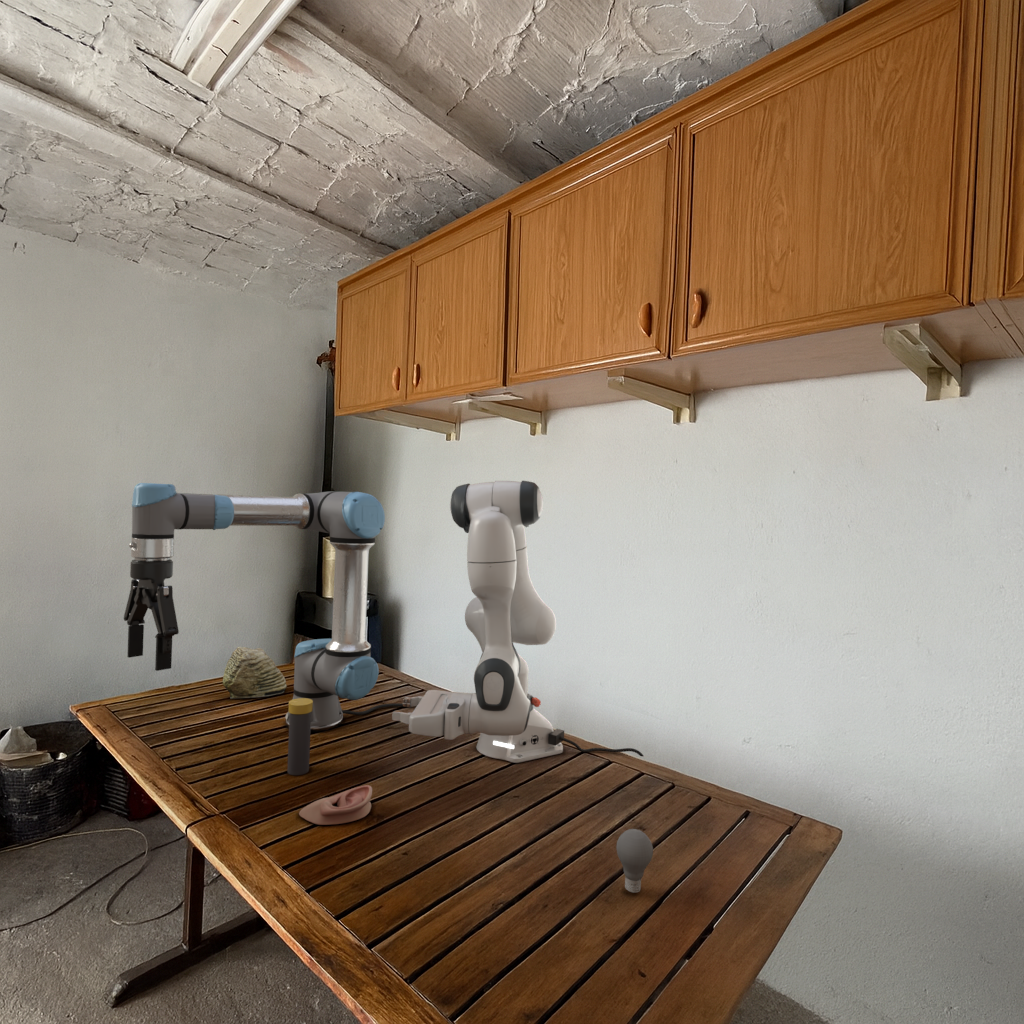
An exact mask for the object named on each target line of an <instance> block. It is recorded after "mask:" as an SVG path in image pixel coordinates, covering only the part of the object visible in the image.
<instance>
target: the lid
mask: <svg viewBox="0 0 1024 1024" xmlns="http://www.w3.org/2000/svg"><path fill="white" fill-rule="evenodd" d="M292 699H293V698H292ZM292 699H290V700H288V711H289V713H291V714H306V713H309V712H311V711H312V710H313V700H311V699H308V698H298V699H293V700H292ZM288 711H287V712H288Z"/></svg>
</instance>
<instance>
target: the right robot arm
mask: <svg viewBox="0 0 1024 1024" xmlns="http://www.w3.org/2000/svg"><path fill="white" fill-rule="evenodd" d="M543 509H544V498H543V494H542V492H541V489H540V487H539V486H538V485H537V483H536V482H533V481H529V480H521V481H516V480H495V481H485V482H478V483H465V484H461V485H458V486H456V487H455V488H454V489H453V491H452V493H451V496H450V501H449V511H450V514H451V516H452V520H453V522H454V523H455V524H456V525H457V526H458V527H459V528H460V529H463V531H464V532H465V533H466V534H468V536H467V545H466V546H467V548H466V549H467V550H466V551H467V552H466V558H467V559H466V562H467V563H466V564H467V576H468V581H469V582H468V583H469V586H470V590H471V592H472V594H473V595H474V596H475V597H474V598H472V599H471V600H470V601H469V602H468V604H467V606H466V608H465V610H464V621H465V625H466V627H467V629H468V630H469V631H470V633H472V635H473V636H474V638H475V639H476V640H477V642H478V645H479V647H480V649H481V655H480V658H479V661H478V663H477V665H476V667H475V669H474V673H473V684H474V691H475V692H464V691H463V692H462V691H461V692H460V691H447V690H439V689H429V690H426V692H425V693H424V695H419V696H418V695H417V696H413V697H407V696H406V697H404V698H403V699H402V703H403V706H404V707H403V708H411V707H410V706H417V707H414V709H413V711H412V712H403V711H402V710H394V711H393V712H392V715H391V720H392V721H394V722H401V723H403V724H406V725H408V732H409V733H411V734H414V735H418V736H424V737H436V738H439V737H443V739H444V740H450V741H451V740H452V741H453V740H455V739H457V737H459V736H463V735H464V734H466V735H474V734H479V737H478V739H477V743H476V746H475V749H476V751H478V752H479V753H480V754H482V755H483V756H486V757H489V758H493V759H498V760H503V761H508V762H510V763H515V764H518V763H523V762H528V761H532V760H537V759H541V758H546V757H550V756H555V755H559V754H563V752H564V745H563V742H565V743H567V744H570V745H572V746H574V747H575V748H576V749H577V750H578V751H579V752H580V753H591V752H604V753H625V752H632V753H635V754H636V755H638V756H640V757H644V754H643V753H642V752H641V751H640V750H638V749H636V748H633V747H632V748H631V747H623V748H604V747H593V748H582V747H581V746H580V745H578V743H576V742H575V741H573V740H570V739H569V738H566V737H565V729H560V728H556V729H554V727H553V724H552V723H551V721H549V720H548V719H547V718H546V717H545V716H544V715H543V714H542V713H541V712H539V711H538V710H537V709H536V708H539V707H540V706H541V704H542V702H541V699H539V698H538V697H535V696H533V695H532V694H530V693H528V692H529V674H530V673H529V671H530V670H529V665H528V662H527V661H526V660H525V659H524V658H523V657H522V655H520V654H519V652H518V651H517V649H516V647H515V645H514V644H518V645H519V644H520V645H525V646H542V645H543V646H544V645H546V644H548V643H549V642H550V641H551V640H552V638H553V637H554V635H555V633H556V630H557V618H556V615H555V612H554V611H553V609H552V608H551V607H549V605H547V603H546V602H544V600H543V599H542V598H541V596H540V595H539V593H538V592H537V590H536V588H535V586H534V583H533V581H532V578H531V575H530V569H529V560H528V559H529V558H528V545H527V534H526V528H529V527H530V526H531V525H533V524H536V523H537V522H538V521H539V520H540V518H541V514H542V513H543ZM534 707H535V708H534Z"/></svg>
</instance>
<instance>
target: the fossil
mask: <svg viewBox="0 0 1024 1024" xmlns="http://www.w3.org/2000/svg"><path fill="white" fill-rule="evenodd" d="M222 676H223V677H222V685H223V687H224V688H225V690H226V691H228V693H229V698H230V699H250V698H264V697H271V696H275V695H281V694H284V693H285V691H286V689H287V687H288V686H287V680H286V678H285V676H284V674H283V673H282V672H281V669H279V668H278V667H277V665H276V663H275V662H274V660H273V659H272V658H271V657H270V656H269V655H268V654H267V653H266V652H265V650H264V649H263V648H260V647H258V648H251V647H247V646H246V647H245V646H238V647H237V648H236V649H235V650H233V651H232V653H231V656H230V657H229V659H228V660H227V663H226V666H225V668H224V671H223V675H222Z"/></svg>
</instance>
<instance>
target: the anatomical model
mask: <svg viewBox="0 0 1024 1024" xmlns="http://www.w3.org/2000/svg"><path fill="white" fill-rule="evenodd" d="M372 795H373V787H372V786H371V785H369V784H367V785H366V784H365V785H361V786H356V787H354V788H351V789H350V788H349V789H347V790H345V791H341V792H340V793H337V794H334V795H332V796H329V797H328V796H327V797H323V798H320V799H317V800H315V801H313V802H311V803H309V804H307V805H306V806H304V807H303V808H301V809H300V810H299V812H298V815H299V817H300V818H302V819H304V820H306V821H307V822H310V823H311V824H315V825H319V826H328V825H339V824H346V823H351V822H354V821H357V820H361V819H363V818H365V817H366V816H367V815H368V814H369V813H370V812H371V809H372V803H371V798H372V797H373V796H372Z"/></svg>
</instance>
